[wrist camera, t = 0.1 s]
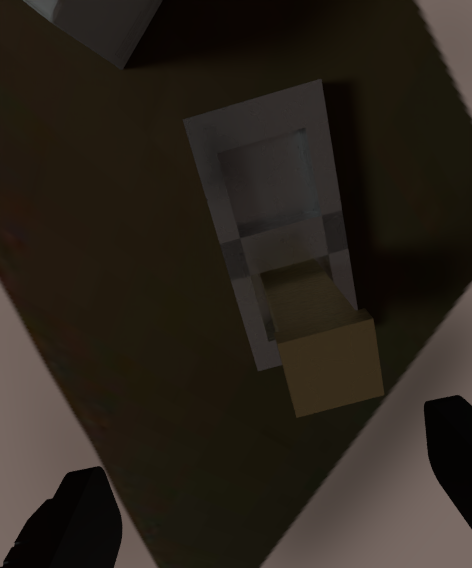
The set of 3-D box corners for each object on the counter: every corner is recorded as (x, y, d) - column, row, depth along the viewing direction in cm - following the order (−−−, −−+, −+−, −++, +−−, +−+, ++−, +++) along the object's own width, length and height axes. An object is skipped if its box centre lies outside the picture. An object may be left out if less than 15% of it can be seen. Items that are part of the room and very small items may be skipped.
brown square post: (253, 269, 30) (277, 344, 20) (317, 252, 30) (373, 318, 20) (268, 324, 32) (296, 417, 22) (328, 308, 32) (384, 395, 22)
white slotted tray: (185, 120, 27) (182, 119, 24) (309, 83, 26) (321, 78, 24) (254, 351, 35) (258, 371, 32) (350, 325, 34) (363, 343, 31)
